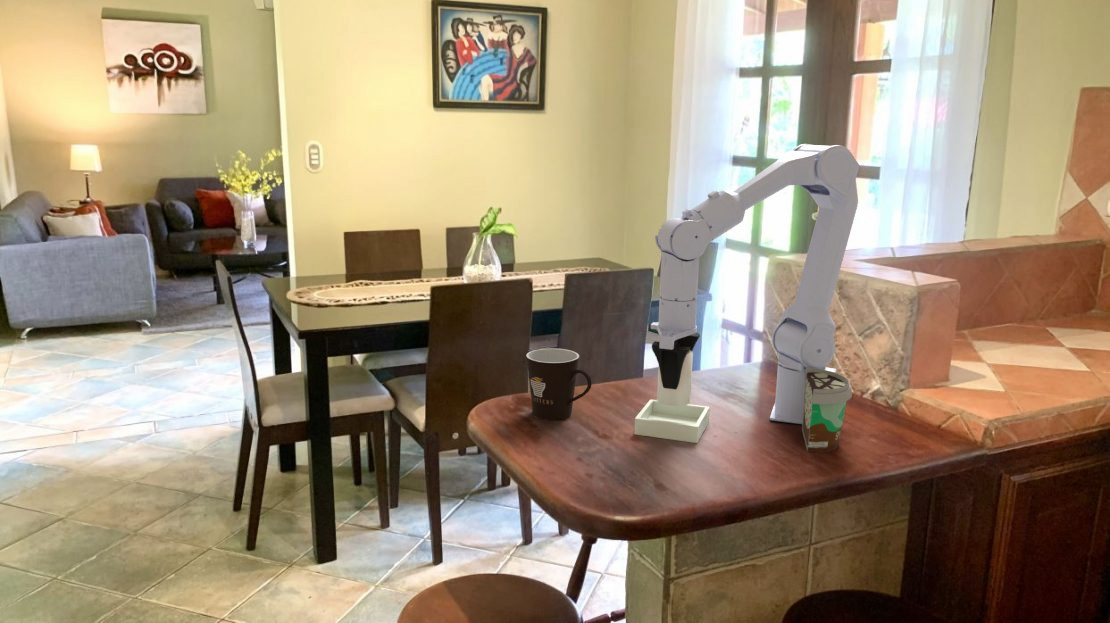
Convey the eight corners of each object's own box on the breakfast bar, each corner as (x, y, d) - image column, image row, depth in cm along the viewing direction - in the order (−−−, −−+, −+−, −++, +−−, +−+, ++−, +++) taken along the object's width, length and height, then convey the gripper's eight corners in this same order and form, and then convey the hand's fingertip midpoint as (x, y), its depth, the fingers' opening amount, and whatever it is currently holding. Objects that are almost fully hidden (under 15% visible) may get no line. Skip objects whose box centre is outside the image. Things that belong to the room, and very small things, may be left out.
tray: (708, 422, 133) (709, 406, 132) (697, 443, 124) (698, 426, 123) (649, 414, 136) (650, 399, 135) (634, 434, 127) (634, 418, 126)
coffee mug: (518, 408, 138) (518, 351, 136) (565, 402, 141) (566, 346, 139) (545, 431, 128) (545, 370, 125) (594, 424, 131) (596, 364, 129)
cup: (693, 397, 130) (696, 349, 129) (686, 408, 126) (689, 357, 124) (661, 393, 132) (663, 345, 130) (653, 403, 127) (655, 353, 126)
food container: (852, 459, 118) (859, 393, 116) (808, 455, 119) (813, 390, 117) (841, 429, 130) (846, 369, 128) (801, 426, 131) (806, 366, 129)
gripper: (663, 287, 133) (660, 367, 136) (640, 304, 120) (637, 393, 123) (706, 290, 131) (702, 372, 134) (688, 308, 118) (684, 399, 121)
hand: (674, 382), depth 128 cm, fingers closed on cup, 5 cm apart
